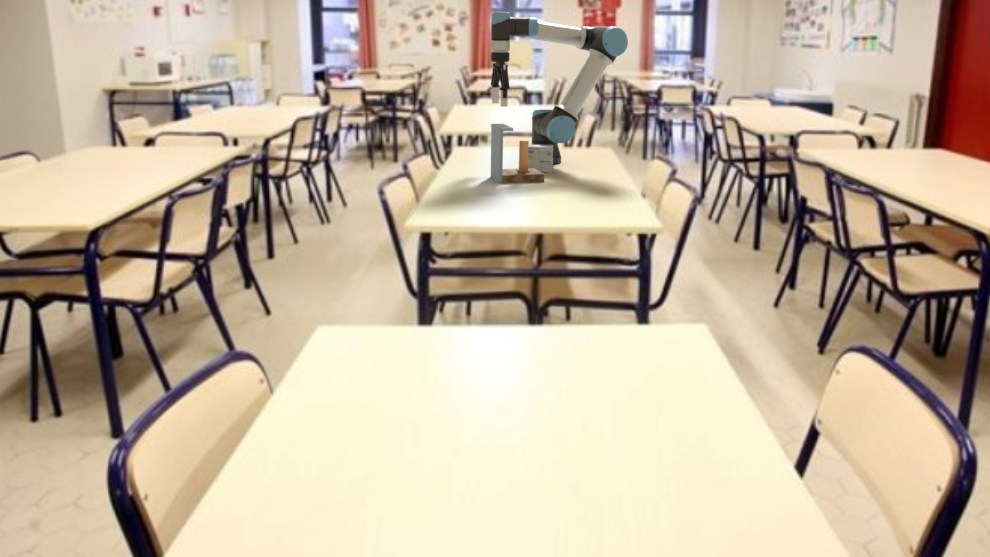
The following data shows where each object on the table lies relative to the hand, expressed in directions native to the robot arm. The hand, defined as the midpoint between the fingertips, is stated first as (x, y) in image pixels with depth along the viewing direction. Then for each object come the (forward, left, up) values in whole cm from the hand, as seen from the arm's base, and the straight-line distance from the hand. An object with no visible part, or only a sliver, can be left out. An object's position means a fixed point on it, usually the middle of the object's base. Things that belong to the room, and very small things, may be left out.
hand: (499, 105), depth 344 cm
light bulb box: (-16, +8, -27) cm, 32 cm away
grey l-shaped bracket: (+5, +25, -27) cm, 37 cm away
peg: (-4, +25, -27) cm, 36 cm away
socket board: (-2, +25, -27) cm, 36 cm away
